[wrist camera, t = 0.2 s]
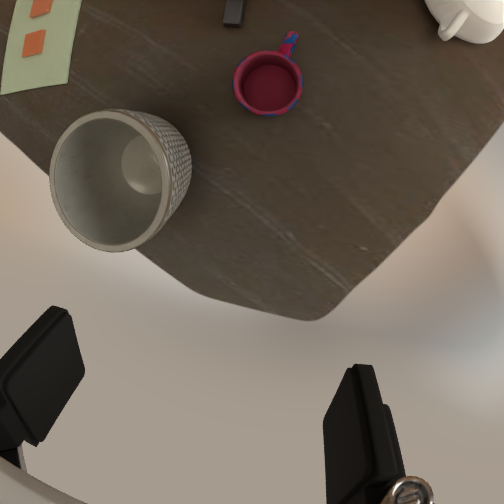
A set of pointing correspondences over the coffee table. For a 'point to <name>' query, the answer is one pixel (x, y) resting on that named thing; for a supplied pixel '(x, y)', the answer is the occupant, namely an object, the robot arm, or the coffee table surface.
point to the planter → (118, 177)
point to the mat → (54, 49)
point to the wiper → (234, 13)
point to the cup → (269, 80)
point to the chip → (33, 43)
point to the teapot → (468, 19)
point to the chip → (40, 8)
